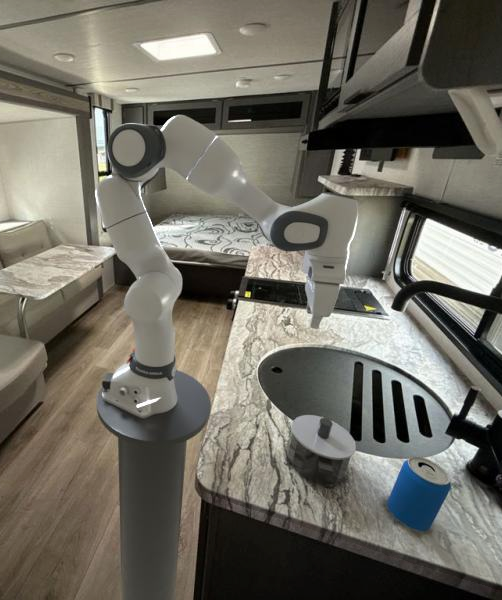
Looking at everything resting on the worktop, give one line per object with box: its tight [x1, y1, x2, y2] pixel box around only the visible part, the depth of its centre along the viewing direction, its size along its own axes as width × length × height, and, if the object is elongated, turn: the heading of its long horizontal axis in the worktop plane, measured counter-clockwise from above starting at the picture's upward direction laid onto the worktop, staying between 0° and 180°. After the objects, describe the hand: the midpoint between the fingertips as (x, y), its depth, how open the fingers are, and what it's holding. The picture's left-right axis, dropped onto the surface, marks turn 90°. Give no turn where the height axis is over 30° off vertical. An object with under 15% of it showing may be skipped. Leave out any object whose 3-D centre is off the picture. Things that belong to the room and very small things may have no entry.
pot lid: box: [291, 414, 357, 460], centre depth 66 cm, size 12×12×5 cm
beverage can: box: [386, 455, 452, 532], centre depth 56 cm, size 6×6×12 cm
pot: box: [286, 412, 352, 486], centre depth 68 cm, size 12×17×7 cm
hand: (311, 319), depth 77 cm, fingers open, 8 cm apart
